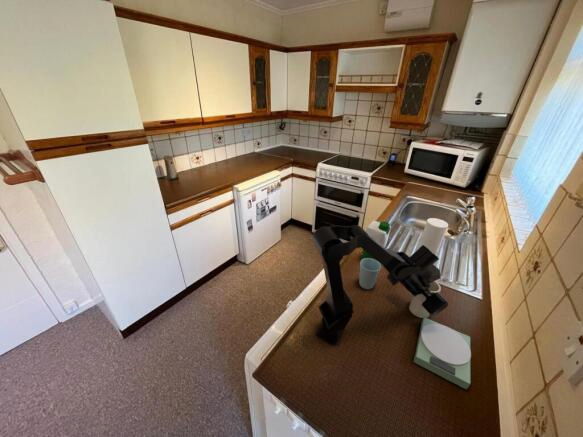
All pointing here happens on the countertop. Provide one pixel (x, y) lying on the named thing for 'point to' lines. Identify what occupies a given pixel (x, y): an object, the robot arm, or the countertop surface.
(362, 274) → the cup
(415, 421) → the countertop surface
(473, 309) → the countertop surface
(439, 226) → the cylindrical container
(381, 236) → the milk carton
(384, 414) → the countertop surface
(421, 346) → the kitchen scale
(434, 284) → the beaker
